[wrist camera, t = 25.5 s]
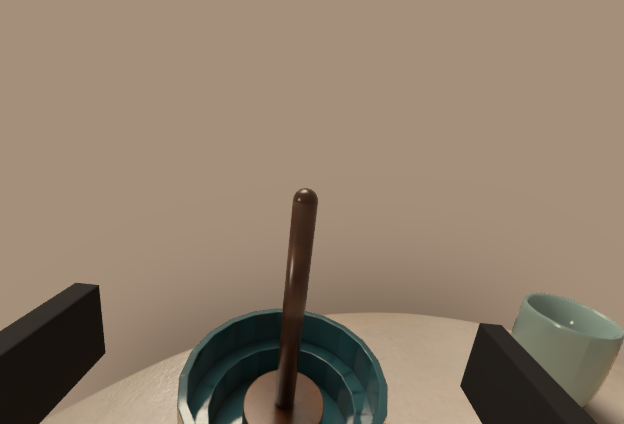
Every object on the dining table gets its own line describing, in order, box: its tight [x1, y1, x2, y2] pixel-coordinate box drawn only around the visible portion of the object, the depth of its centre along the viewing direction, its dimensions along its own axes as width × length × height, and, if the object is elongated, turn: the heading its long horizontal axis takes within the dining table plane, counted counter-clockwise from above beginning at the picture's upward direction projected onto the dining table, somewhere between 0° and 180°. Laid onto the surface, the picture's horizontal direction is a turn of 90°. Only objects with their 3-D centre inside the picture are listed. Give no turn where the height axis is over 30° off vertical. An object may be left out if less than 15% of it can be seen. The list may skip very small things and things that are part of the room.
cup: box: [511, 293, 624, 408], centre depth 30 cm, size 8×8×10 cm
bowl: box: [177, 309, 388, 424], centre depth 23 cm, size 15×15×7 cm
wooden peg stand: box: [242, 188, 324, 424], centre depth 21 cm, size 6×6×20 cm
